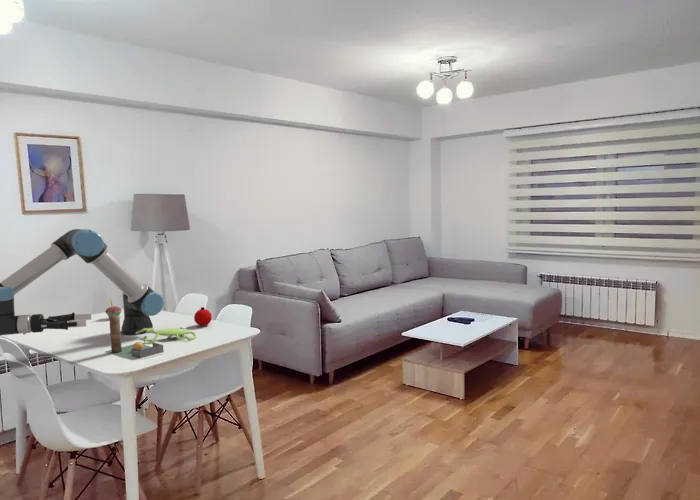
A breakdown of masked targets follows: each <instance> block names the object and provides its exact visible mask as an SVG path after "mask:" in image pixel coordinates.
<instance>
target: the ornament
mask: <svg viewBox="0 0 700 500" xmlns="http://www.w3.org/2000/svg"><path fill="white" fill-rule="evenodd" d="M212 318H213V317H212V313H211V311H209V309H206V308H205V307H204V306H201V307H200V309H198V310H197V311H196V312H195V314H194V317H193V319H194V322H195V323H196V325H198V326H200V327H205V326H207V325H209V324H210V323H211V322H212Z"/></svg>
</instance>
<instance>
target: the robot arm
mask: <svg viewBox="0 0 700 500" xmlns="http://www.w3.org/2000/svg"><path fill="white" fill-rule="evenodd" d="M75 255H77V256H78V257H79V258H80V259H81V260H82V261H83V262H85V263H86V264H92V265H93V266H94V267H96V269H98V271H100V272H101V274H103V275H104V276H105V277H106V278H107V279H109V281H110V282H112V284H113V285H115V286H116V287H117V289H119V290H120V291H121V292H122V303H123V305H122V306H123V320H122V325H121V327H120V333H121V334H123V335H131V336H132V335H133V336H134V335H139V334H140V335H142V334H148V333H147V332H146V330H145V331H142V332H140V333H138V334H136V332H137V331H139V330H142V329H144V328H154V325H153V323H152V320H151V317H152V316H153V317H154V316H156V315H158V314H159V313H160V312H161V311H162V310H163V308H164V304H165V300H164V297H163V296H162V294H160V293H159V292H157V291H156V292H155V291H154V290H153V289H152V288H151V287H150V285H148V284H145V283H144V284H142V283H141V282H140V281H139V279H137V278H136V277H135V276H134V275H133V274H132V273H131V272H130V271H129V270H128V269H127V268H126V267H125V266H124V265H122V263H121V262H119V261H118V259H116V258H115V256H113V255H112V253H110V251H109V250H108V245H107V244H106V243H105V242H104V238H103V237H102V236H101V234H100V233H99V232H97V231H95V230H92V229H89V228H88V229H87V228H85V229H82V228H76V229H71V230H68V231H67V232H65V233H64V234H63V235H61V236H59V238H57V239H56V240H54V241H53V242H52V243H51V244H50V247H48V248H47V249H46V250H44V251H43V252H41V253H39V255H37V256H35V257H34V258H33V259H32V260H30V261H28V262H27V263H26V264H25V265H23V266H21V268H20V267H19V269H17V270H16V271H15V272H13V273H12V274H10V275H9V276H8V277H6V278H5V279H3V280H2V281H0V336H8V335H18V334H19V335H20V334H23V335H24V336H25V335H26V334H30V333H35V334H36V333H42V332H43V331H44V330H65V331H68V330H69V329H70V328H82V327H87V321H89V320H90V321H91V320H92V313H90V312H89V313H88V312H87V313H76V312H72V313H69V314H61V315H53V316H50V315H49V316H48V317H47V318H45V317H44V315H43V314H42V313H36V314H20V315H16V314H15V313H16V312H15V296H16V295H17V294H18V293H19V292H20V291H22V290H23V289H25V288H26V287H28V286H29V285H30V284H31V283H33V282H35V280H37V279H38V278H40V277H41V276H42V275H44V274H45V273H46V272H47V273H48V271H49V270H51V269H52V268H53V267H55V266H57V265H58V264H59V263H60V262H62V261H67V260H68V259H70V258H71V257H73V256H75ZM75 313H76V314H75ZM23 335H22V336H23Z"/></svg>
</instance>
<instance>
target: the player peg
mask: <svg viewBox="0 0 700 500" xmlns="http://www.w3.org/2000/svg"><path fill="white" fill-rule="evenodd" d="M108 319H109V331H110V345H111V346H110V347H111V348H110V350H111V351H112V353H120V352H122V349H121V347H122V336H121V334H122V333H121V320H120V319H121V317H120V315H112V316H109V317H108Z"/></svg>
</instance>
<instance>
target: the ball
mask: <svg viewBox="0 0 700 500" xmlns="http://www.w3.org/2000/svg"><path fill="white" fill-rule="evenodd" d="M132 345H133V344H132ZM143 345H144V343H142V342H141V341H140V342H139V341H136V342H135V343H134V345H133V348H134V349H138V350H142V348H143Z"/></svg>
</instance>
